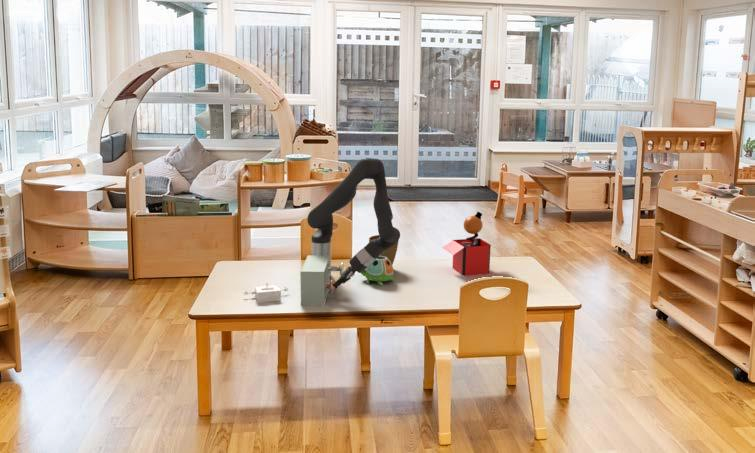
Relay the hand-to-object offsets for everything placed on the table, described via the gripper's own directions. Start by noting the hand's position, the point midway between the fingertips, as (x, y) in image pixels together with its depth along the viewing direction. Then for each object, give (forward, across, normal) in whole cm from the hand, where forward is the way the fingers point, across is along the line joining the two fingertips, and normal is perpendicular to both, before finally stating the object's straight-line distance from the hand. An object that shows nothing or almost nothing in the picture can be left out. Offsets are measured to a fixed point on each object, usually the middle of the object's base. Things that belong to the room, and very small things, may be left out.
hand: (334, 286), depth 334 cm
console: (+11, -6, -2) cm, 12 cm away
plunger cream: (+1, -12, -4) cm, 13 cm away
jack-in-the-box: (-40, -50, +50) cm, 81 cm away
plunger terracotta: (+7, 0, -3) cm, 8 cm away
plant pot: (-10, -49, +19) cm, 53 cm away
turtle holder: (-8, -29, +17) cm, 35 cm away
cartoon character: (+27, -4, -17) cm, 32 cm away
